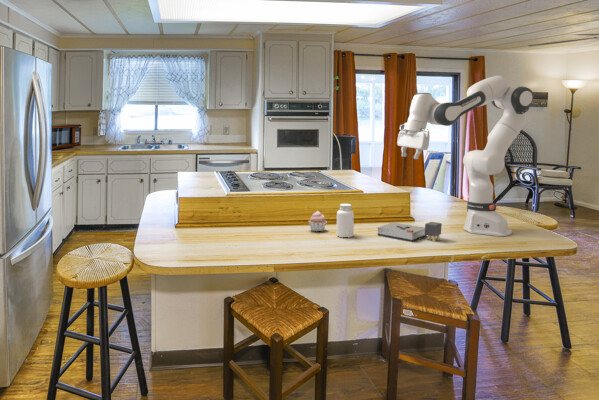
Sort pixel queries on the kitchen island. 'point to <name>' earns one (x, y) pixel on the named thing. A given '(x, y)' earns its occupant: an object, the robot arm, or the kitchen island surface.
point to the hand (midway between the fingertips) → (409, 157)
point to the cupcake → (317, 222)
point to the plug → (433, 230)
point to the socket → (402, 232)
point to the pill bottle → (345, 221)
